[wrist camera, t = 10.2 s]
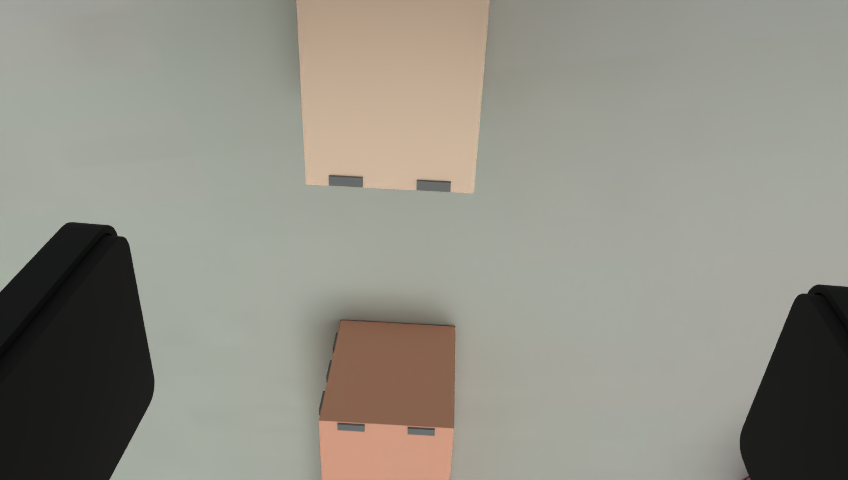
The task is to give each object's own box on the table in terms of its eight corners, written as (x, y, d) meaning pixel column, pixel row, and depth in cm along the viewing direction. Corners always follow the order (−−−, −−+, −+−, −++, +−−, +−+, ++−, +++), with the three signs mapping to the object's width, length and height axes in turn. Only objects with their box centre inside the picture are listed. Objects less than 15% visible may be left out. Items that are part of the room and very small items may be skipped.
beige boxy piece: (326, -99, 23) (288, -67, 18) (486, -92, 23) (494, -57, 18) (332, 109, 27) (302, 185, 22) (471, 116, 27) (473, 194, 22)
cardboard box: (339, 319, 32) (315, 422, 27) (455, 326, 32) (453, 430, 27) (344, 500, 38) (326, 611, 33) (441, 506, 38) (438, 619, 33)
